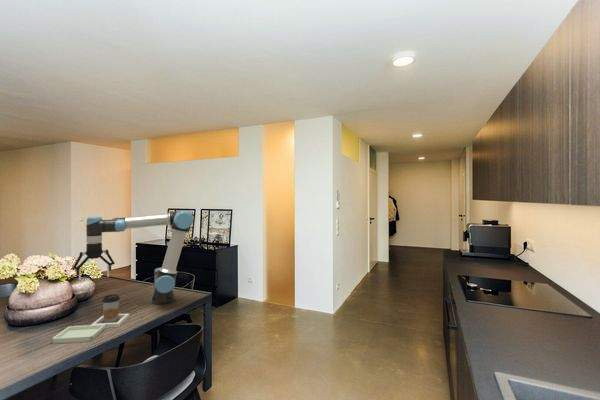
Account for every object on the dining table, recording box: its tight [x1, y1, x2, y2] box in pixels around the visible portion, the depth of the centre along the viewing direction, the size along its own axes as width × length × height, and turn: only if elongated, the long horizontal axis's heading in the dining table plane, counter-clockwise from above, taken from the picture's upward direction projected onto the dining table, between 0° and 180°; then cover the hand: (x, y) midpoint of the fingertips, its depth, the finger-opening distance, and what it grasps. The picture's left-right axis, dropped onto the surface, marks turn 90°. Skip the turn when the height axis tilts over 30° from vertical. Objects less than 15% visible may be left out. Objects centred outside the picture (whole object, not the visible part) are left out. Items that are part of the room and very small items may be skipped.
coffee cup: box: [102, 293, 121, 323], centre depth 164 cm, size 8×8×15 cm
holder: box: [90, 313, 130, 329], centre depth 164 cm, size 14×14×2 cm
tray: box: [50, 324, 107, 345], centre depth 148 cm, size 18×14×2 cm
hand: (94, 278), depth 170 cm, fingers open, 13 cm apart
